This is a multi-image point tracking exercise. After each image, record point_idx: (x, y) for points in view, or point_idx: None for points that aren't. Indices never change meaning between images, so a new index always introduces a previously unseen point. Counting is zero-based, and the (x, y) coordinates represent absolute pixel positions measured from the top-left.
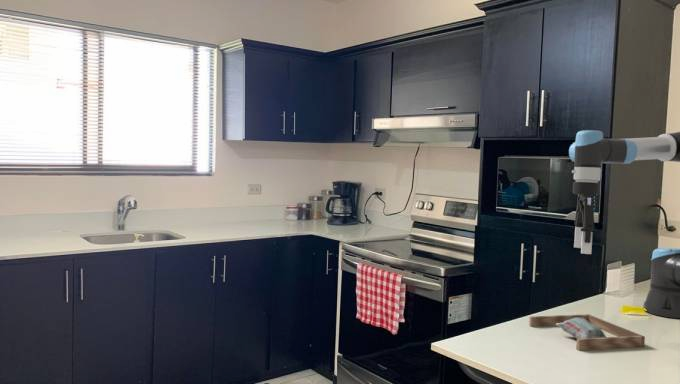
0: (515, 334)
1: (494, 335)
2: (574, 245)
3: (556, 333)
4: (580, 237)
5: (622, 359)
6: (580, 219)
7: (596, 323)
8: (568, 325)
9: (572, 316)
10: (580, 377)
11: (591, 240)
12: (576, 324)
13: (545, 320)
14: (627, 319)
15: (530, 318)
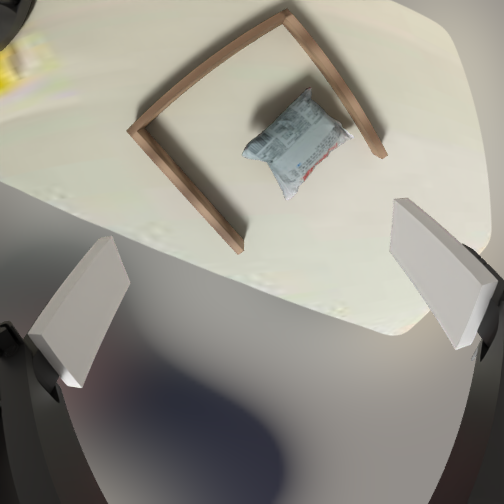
0: (318, 261)
1: (339, 289)
2: (123, 290)
3: (271, 188)
4: (91, 299)
5: (397, 77)
6: (66, 440)
7: (165, 106)
8: (309, 173)
9: (167, 164)
10: (484, 167)
11: (455, 244)
12: (317, 157)
13: (219, 219)
14: (55, 61)
15: (240, 251)
